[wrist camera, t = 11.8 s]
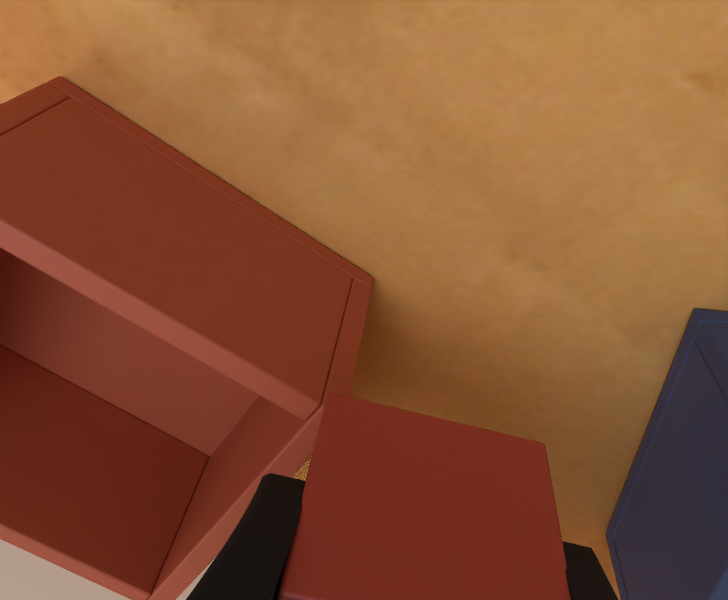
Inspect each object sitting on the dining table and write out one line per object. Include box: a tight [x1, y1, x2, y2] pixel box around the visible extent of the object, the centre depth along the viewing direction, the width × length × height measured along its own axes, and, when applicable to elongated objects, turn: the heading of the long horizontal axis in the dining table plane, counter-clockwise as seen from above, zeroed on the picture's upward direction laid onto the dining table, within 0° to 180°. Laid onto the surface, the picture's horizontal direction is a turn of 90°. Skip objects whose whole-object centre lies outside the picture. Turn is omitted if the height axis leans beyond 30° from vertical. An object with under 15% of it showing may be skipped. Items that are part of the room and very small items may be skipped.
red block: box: [277, 393, 571, 600], centre depth 11 cm, size 4×4×4 cm
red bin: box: [0, 76, 374, 600], centre depth 16 cm, size 9×9×6 cm
